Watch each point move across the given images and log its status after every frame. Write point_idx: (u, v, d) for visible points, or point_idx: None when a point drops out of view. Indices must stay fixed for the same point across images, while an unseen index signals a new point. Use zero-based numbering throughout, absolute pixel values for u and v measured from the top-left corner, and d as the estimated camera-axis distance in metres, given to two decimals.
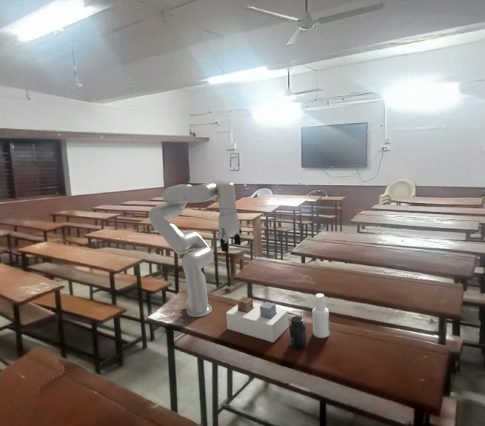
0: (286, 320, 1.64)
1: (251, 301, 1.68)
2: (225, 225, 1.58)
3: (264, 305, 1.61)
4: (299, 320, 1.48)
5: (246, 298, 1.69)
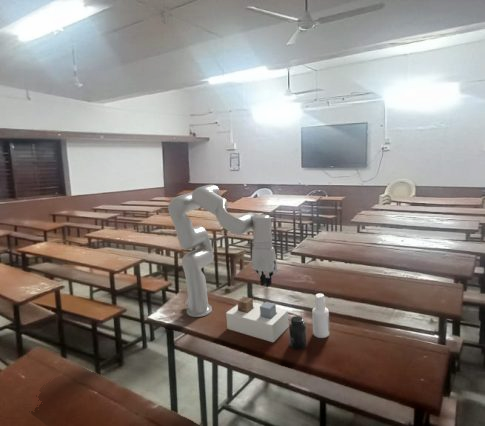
0: (286, 320, 1.64)
1: (251, 301, 1.68)
2: (275, 256, 1.54)
3: (264, 305, 1.61)
4: (299, 320, 1.48)
5: (246, 298, 1.69)
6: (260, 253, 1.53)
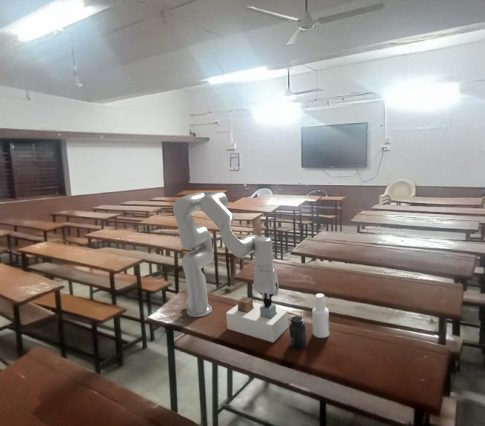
0: (286, 320, 1.64)
1: (251, 301, 1.68)
2: None
3: (264, 306, 1.61)
4: (299, 320, 1.48)
5: (246, 298, 1.69)
6: (262, 275, 1.55)
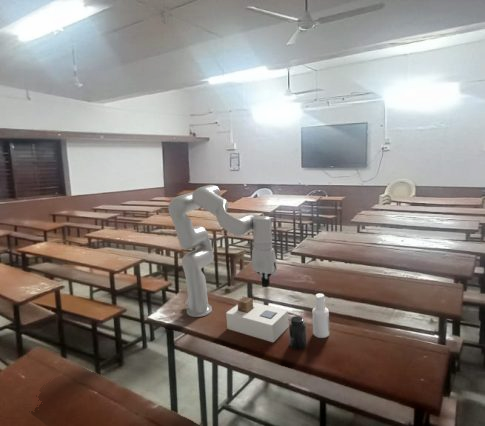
0: (286, 320, 1.64)
1: (251, 301, 1.68)
2: (275, 257, 1.55)
3: (265, 314, 1.62)
4: (299, 320, 1.48)
5: (246, 298, 1.69)
6: (260, 254, 1.53)
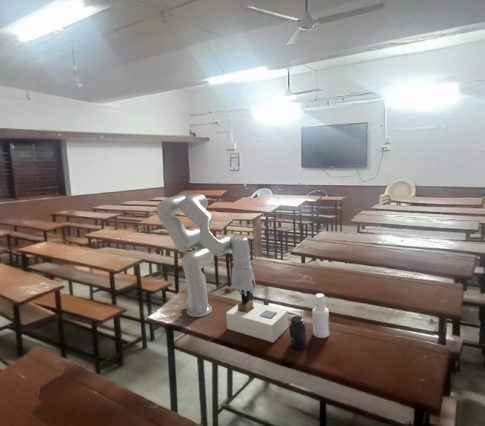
0: (286, 320, 1.64)
1: (251, 304, 1.68)
2: (253, 275, 1.64)
3: (265, 314, 1.62)
4: (299, 320, 1.48)
5: None
6: (238, 273, 1.62)
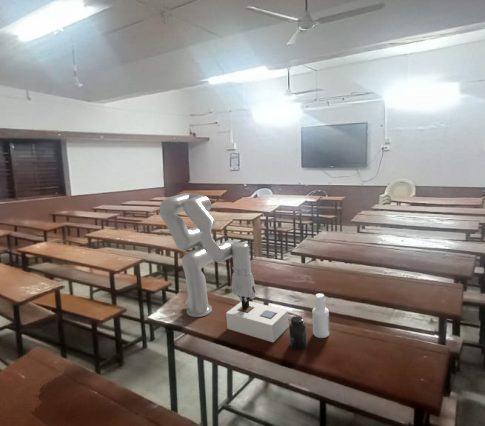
0: (286, 320, 1.64)
1: None
2: None
3: (265, 314, 1.62)
4: (299, 320, 1.48)
5: None
6: (239, 279, 1.63)
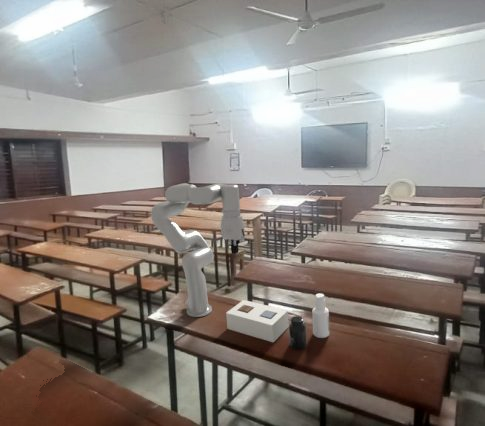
0: (286, 320, 1.64)
1: None
2: (243, 225, 1.60)
3: (265, 314, 1.62)
4: (299, 320, 1.48)
5: (247, 306, 1.70)
6: (228, 221, 1.59)
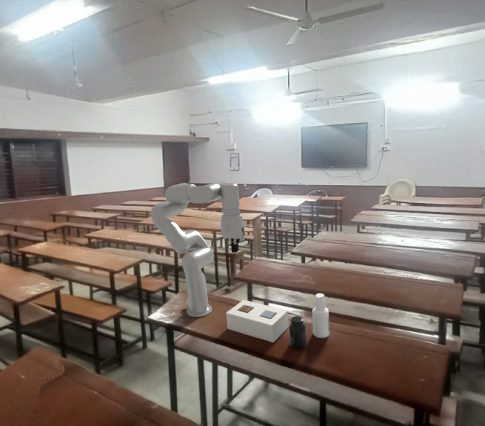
0: (286, 320, 1.64)
1: None
2: (243, 223, 1.60)
3: (265, 314, 1.62)
4: (299, 320, 1.48)
5: (247, 306, 1.70)
6: (228, 220, 1.59)
